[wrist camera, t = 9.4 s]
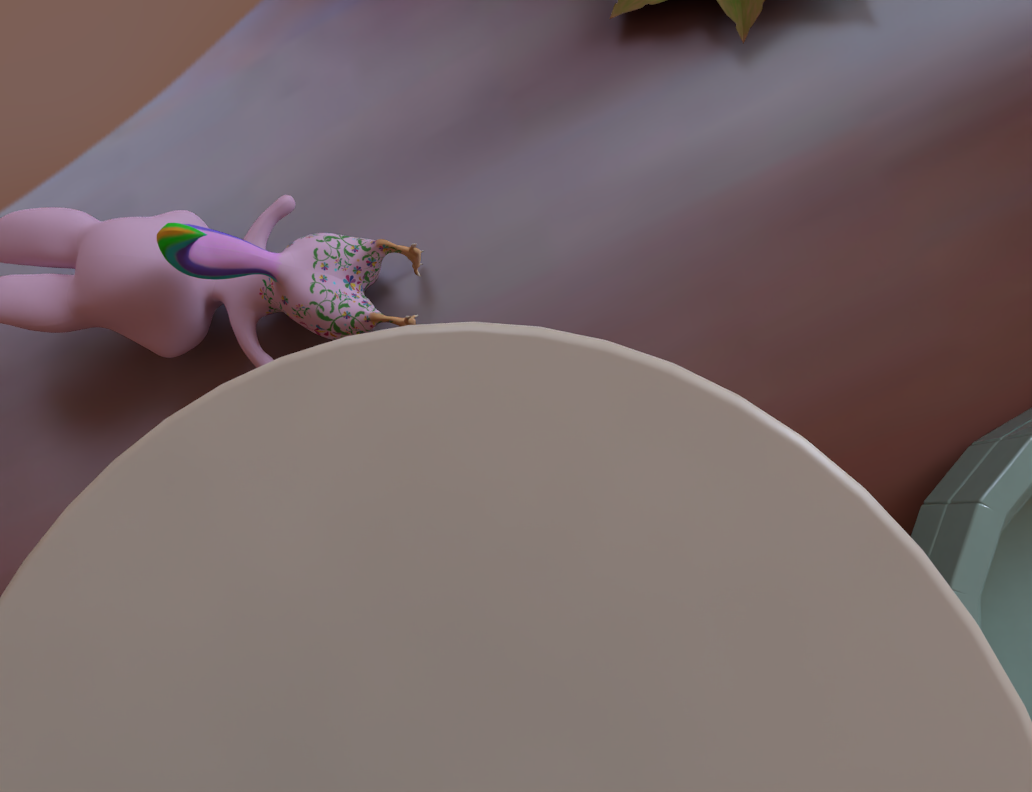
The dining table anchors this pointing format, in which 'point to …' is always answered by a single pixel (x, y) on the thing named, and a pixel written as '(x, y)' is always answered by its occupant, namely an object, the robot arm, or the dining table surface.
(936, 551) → the candle dish
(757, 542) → the candle
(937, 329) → the dining table surface
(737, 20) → the lily flower
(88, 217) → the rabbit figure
